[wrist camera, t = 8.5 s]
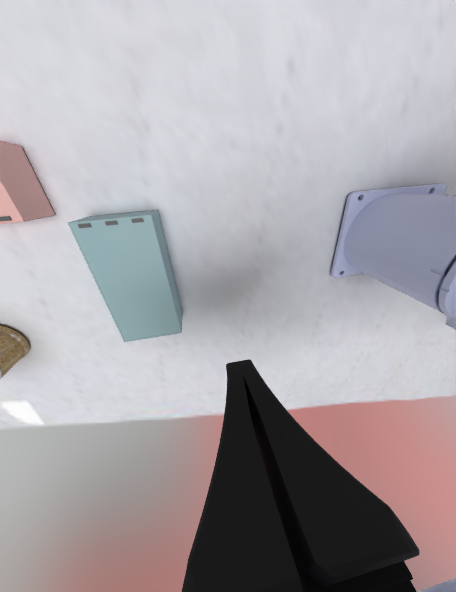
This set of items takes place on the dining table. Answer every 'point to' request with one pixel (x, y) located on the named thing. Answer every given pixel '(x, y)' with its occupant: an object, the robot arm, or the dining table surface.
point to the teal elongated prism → (132, 271)
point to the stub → (20, 188)
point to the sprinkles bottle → (11, 349)
